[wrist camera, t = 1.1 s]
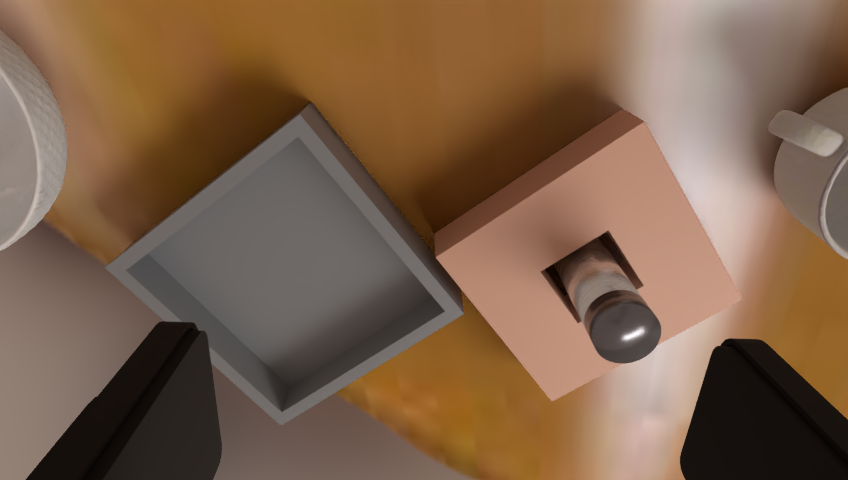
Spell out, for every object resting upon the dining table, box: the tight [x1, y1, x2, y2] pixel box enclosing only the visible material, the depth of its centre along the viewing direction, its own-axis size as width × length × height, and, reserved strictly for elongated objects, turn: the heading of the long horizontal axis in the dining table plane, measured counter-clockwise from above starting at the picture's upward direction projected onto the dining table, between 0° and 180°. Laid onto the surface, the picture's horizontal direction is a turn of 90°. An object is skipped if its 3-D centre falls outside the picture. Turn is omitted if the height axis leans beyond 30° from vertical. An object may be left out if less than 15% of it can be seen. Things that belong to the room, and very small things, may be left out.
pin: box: [553, 237, 661, 363], centre depth 37 cm, size 4×4×11 cm
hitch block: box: [434, 109, 742, 401], centre depth 40 cm, size 16×16×4 cm
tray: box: [105, 102, 464, 425], centre depth 40 cm, size 18×18×4 cm
